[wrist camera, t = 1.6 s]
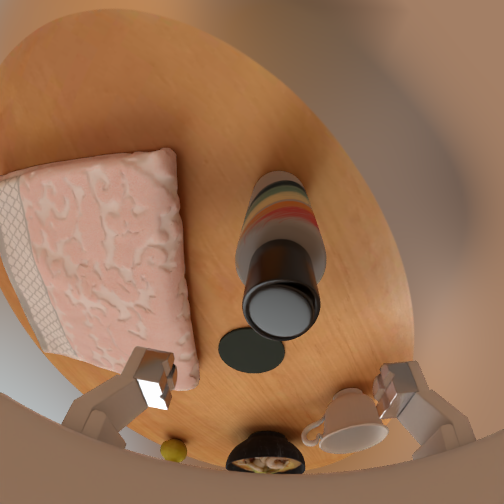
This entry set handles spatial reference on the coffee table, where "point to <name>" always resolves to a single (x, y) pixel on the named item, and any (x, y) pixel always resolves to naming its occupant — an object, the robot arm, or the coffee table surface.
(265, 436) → the bowl
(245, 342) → the coaster
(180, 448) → the fruit
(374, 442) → the teacup
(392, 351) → the coffee table surface
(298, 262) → the lotion bottle
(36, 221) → the towel
